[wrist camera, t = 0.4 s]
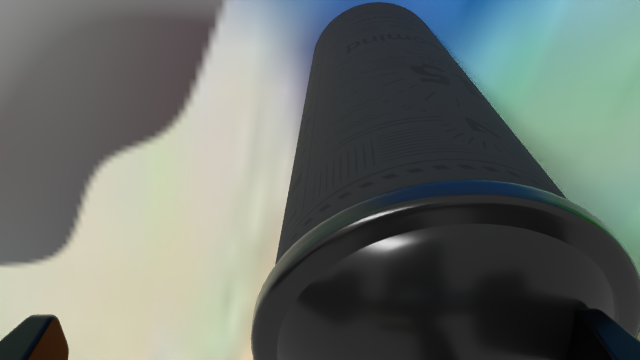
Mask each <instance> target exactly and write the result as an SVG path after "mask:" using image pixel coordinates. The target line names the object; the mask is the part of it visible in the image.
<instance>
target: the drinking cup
mask: <svg viewBox="0 0 640 360" xmlns="http://www.w3.org/2000/svg"><path fill="white" fill-rule="evenodd" d="M586 308H595V309H599V310H601V311H603V312H604V313H605V314H607V315H608V316H609V317H610V318H612V319H613V320H614V321H615V322H616V323H618V324H619V325H620V326H621V327H623V328H624V329H625V330H626V331H628V332H629V333H630V334H631V335H633V336H634V337H635V338H637V336H638V333H639V330H640V276H639V274H638V271H637V269H636V266H635V264H634V262H633V261H632V259H631V257H630V256H629V254H628V252H627V251H626V249H625V248H624V246H623V245H622V243H621V242H620V241H619V239H618V238H617V237H616V236H615V235H614V233H613V232H612V231H611V230H610V229H609V228H608V227H607V226H606V225H605V224H604V223H603V222H602V221H601V220H599V219H598V218H597V217H595V216H594V215H592V214H591V213H590V212H588V211H587V210H585V209H584V208H582V207H580V206H578V205H576V204H574V203H573V202H571V201H569V200H567V199H566V197H565V196H564V195H563V194H562V192H561V191H560V190H559V189H558V187H557V186H556V185H555V184H554V182H553V181H552V180H551V179H550V178H549V176H548V175H547V174H546V173H545V171H544V170H543V169H542V168H541V166H540V165H539V164H538V163H537V161H536V160H535V159H534V158H533V157H532V155H531V154H530V153H529V152H528V150H527V149H526V148H525V147H524V145H523V144H522V143H521V142H520V140H519V139H518V138H517V137H516V136H515V134H514V133H513V132H512V131H511V129H510V128H509V127H508V126H507V124H506V123H505V122H504V121H503V119H502V118H501V117H500V116H499V115H498V113H497V112H496V111H495V110H494V108H493V107H492V106H491V105H490V103H489V102H488V101H487V100H486V98H485V97H484V96H483V95H482V94H481V92H480V91H479V90H478V89H477V87H476V86H475V85H474V84H473V82H472V81H471V80H470V79H469V77H468V76H467V75H466V74H465V73H464V71H463V70H462V69H461V68H460V66H459V65H458V64H457V63H456V61H455V60H454V59H453V58H452V56H451V55H450V54H449V53H448V52H447V50H446V49H445V48H444V47H443V45H442V44H441V43H440V42H439V40H438V39H437V38H436V37H435V35H434V34H433V33H432V32H431V31H430V29H429V28H428V27H427V26H426V24H425V23H424V22H423V21H422V20H421V19H420V18H419V17H418V16H417V15H415V14H414V13H413V12H411V11H410V10H408V9H406V8H404V7H401V6H398V5H395V4H390V3H382V2H376V3H367V4H362V5H359V6H356V7H353V8H351V9H349V10H347V11H345V12H343V13H342V14H340V15H339V16H337V17H336V18H335V19H334V20H333V21H332V22H331V23H330V24H329V25H328V26H327V27H326V28H325V30H324V31H323V32H322V34H321V36H320V37H319V40H318V42H317V44H316V47H315V51H314V55H313V60H312V66H311V71H310V77H309V82H308V88H307V93H306V99H305V104H304V110H303V115H302V121H301V126H300V132H299V137H298V143H297V148H296V154H295V159H294V165H293V170H292V176H291V181H290V187H289V192H288V198H287V203H286V209H285V214H284V220H283V225H282V231H281V236H280V242H279V247H278V253H277V258H276V264H275V267H274V268H273V269H272V271H271V272H270V274H269V276H268V278H267V279H266V281H265V283H264V284H263V286H262V289H261V291H260V294H259V296H258V298H257V302H256V306H255V309H254V314H253V322H252V331H251V348H252V354H253V360H566V356H567V352H568V349H569V344H570V340H571V336H572V329H573V323H574V317H575V312H576V310H577V309H586Z"/></svg>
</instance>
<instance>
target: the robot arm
mask: <svg viewBox="0 0 640 360" xmlns="http://www.w3.org/2000/svg"><path fill="white" fill-rule="evenodd" d="M68 354H69V349H68V344H67V341H66V338H65V336H64V333H63V330H62V327H61V325H60V322H59V320H58V318H57V317H56V316H55V315H32V316H30V317H28V318H26V319H25V320H24V321H23V322H22V323H21V324H19V325H18V326H17V327H16V328H15V329H14V330H12V331H11V332H10V333H9V334H8V335H7V336H5V337H4V338H3V339H2V340H1V341H0V360H68ZM566 360H640V341H639V340H638V339H636V338H635V337H634V336H633V335H631V334H630V333H629V332H628V331H626V330H625V329H624V328H623V327H621V326H620V325H619V324H618V323H616V322H615V321H614V320H613V319H612V318H610V317H609V316H608V315H607V314H605V313H604V312H603V311H601V310H599V309H595V308H586V309H577V310H576V312H575V317H574V323H573V329H572V336H571V340H570V344H569V349H568V352H567V356H566Z"/></svg>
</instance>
